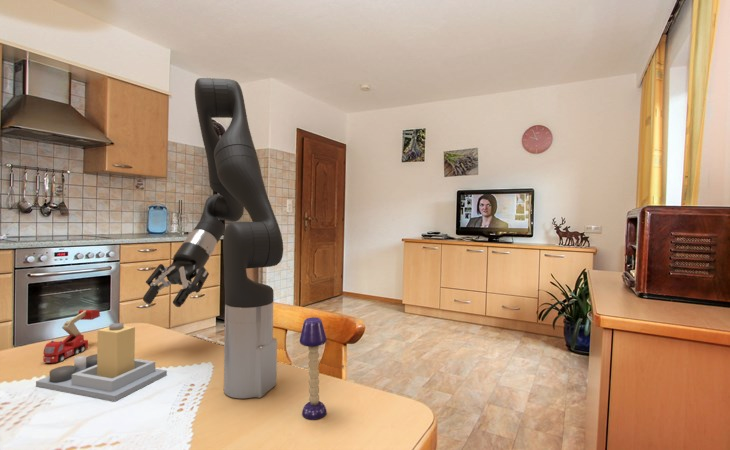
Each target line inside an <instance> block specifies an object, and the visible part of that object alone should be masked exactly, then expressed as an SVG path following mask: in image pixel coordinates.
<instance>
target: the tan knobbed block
mask: <svg viewBox="0 0 730 450" xmlns="http://www.w3.org/2000/svg"><path fill="white" fill-rule="evenodd" d="M96 338H97V344H96V345H97V347H96V348H97V353H96V354H97V376H101V377H107V378H112V379H113V378H115V377H117V376H119V375H122V374H124V373H126V372H128V371H131V370H133V369H135V359H136V358H135V355H136V354H135V351H136V343H135V342H136V339H135V338H136V327H135V326H128V325H124V323H123V322H116V323H111V324H109V326H108V327H105V328H100V329H97V337H96Z"/></svg>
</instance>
